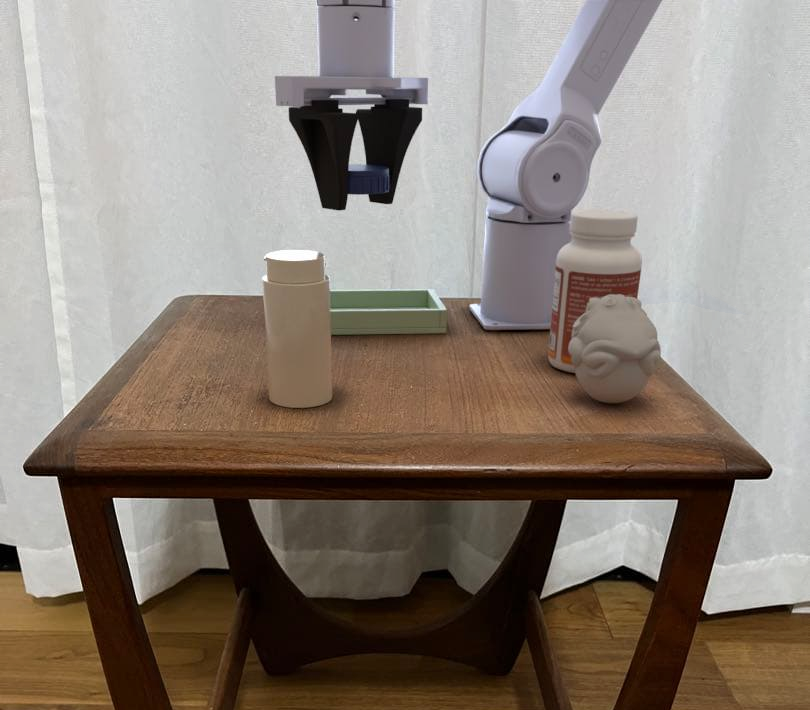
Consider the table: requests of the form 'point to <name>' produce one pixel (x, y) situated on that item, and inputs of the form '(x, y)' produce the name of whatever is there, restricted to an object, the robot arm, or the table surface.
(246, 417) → the table surface
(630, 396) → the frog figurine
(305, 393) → the jar
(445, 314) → the tray
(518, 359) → the table surface
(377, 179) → the lid
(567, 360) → the pill bottle
